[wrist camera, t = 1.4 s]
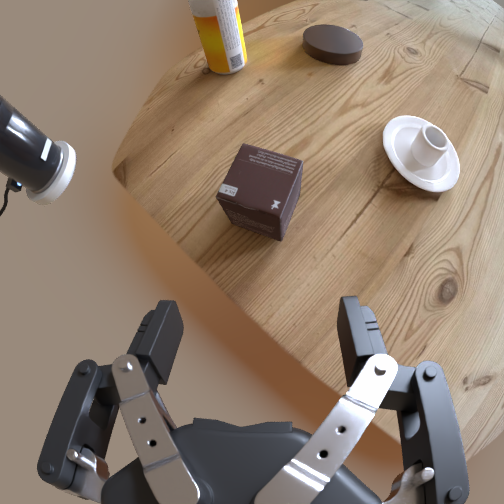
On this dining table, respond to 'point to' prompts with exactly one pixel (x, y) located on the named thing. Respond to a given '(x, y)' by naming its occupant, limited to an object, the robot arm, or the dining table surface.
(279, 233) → the box
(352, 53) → the walnut coaster
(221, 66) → the beer can
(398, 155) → the candle holder
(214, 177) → the dining table surface
